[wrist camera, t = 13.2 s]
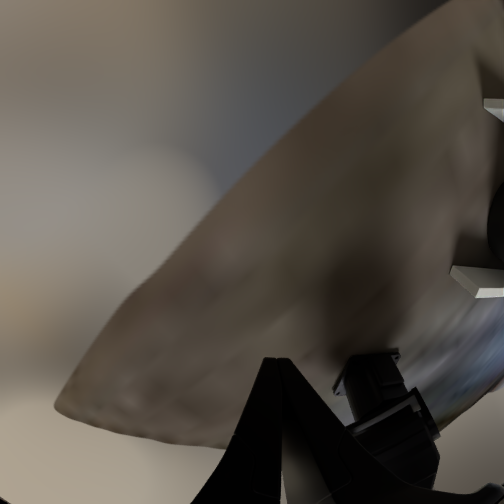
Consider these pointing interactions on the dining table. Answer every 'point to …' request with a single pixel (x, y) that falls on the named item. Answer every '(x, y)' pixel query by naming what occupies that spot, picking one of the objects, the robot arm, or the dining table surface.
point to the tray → (483, 279)
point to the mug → (497, 224)
